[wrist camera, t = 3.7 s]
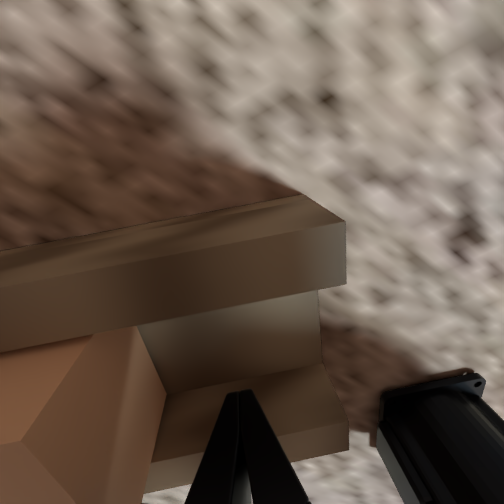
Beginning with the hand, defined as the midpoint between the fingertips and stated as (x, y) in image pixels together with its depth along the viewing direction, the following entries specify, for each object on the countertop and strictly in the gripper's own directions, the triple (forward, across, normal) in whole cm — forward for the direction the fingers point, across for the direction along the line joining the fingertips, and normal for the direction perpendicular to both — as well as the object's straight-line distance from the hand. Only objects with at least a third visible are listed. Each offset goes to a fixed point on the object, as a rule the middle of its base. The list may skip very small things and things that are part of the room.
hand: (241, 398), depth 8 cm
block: (+3, +7, 0) cm, 7 cm away
